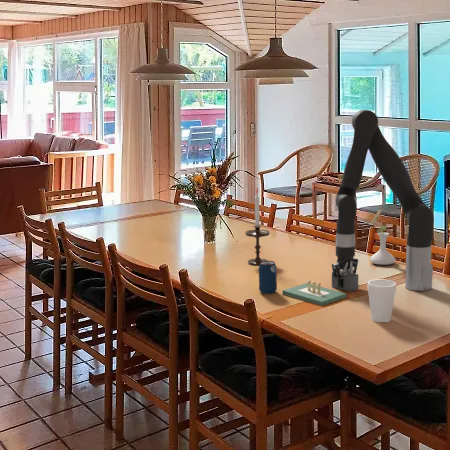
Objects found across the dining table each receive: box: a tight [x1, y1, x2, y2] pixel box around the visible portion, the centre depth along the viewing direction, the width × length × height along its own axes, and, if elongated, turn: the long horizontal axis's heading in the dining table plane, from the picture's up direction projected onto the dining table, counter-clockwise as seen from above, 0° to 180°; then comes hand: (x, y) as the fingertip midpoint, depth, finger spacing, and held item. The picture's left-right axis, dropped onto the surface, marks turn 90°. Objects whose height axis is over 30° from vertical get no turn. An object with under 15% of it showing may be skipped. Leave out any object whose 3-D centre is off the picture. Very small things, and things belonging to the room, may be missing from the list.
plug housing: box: [331, 271, 359, 292], centre depth 268 cm, size 10×5×6 cm, turn 41°
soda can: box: [258, 260, 278, 295], centre depth 265 cm, size 7×7×12 cm
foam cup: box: [367, 278, 397, 323], centre depth 230 cm, size 10×9×13 cm
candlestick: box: [245, 187, 270, 266], centre depth 306 cm, size 11×11×35 cm
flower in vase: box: [369, 209, 397, 266], centre depth 300 cm, size 13×11×25 cm
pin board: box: [282, 279, 347, 307], centre depth 259 cm, size 20×14×6 cm
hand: (344, 286), depth 268 cm, fingers closed on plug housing, 4 cm apart
